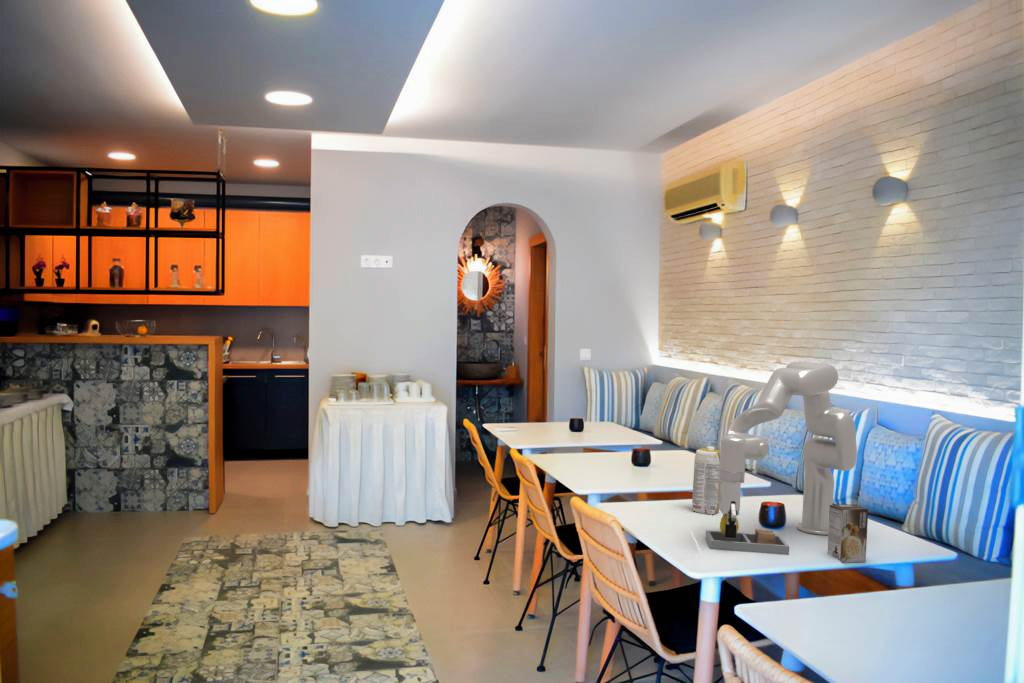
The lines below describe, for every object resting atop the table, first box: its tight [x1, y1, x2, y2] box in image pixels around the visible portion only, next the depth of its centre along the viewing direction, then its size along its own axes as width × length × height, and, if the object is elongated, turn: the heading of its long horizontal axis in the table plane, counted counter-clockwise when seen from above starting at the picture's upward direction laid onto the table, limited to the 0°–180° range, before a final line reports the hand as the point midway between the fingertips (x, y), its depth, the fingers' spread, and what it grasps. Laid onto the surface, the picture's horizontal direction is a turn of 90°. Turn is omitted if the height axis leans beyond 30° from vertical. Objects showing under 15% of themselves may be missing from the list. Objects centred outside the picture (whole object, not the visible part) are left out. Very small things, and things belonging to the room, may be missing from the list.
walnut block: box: [754, 528, 776, 545], centre depth 250 cm, size 5×5×5 cm
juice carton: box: [691, 445, 722, 515], centre depth 298 cm, size 9×8×24 cm
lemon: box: [719, 513, 739, 538], centre depth 251 cm, size 6×6×8 cm
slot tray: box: [704, 529, 790, 556], centre depth 251 cm, size 12×23×4 cm, turn 84°
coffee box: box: [827, 504, 869, 564], centre depth 245 cm, size 9×6×16 cm
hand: (728, 534), depth 251 cm, fingers closed on lemon, 5 cm apart
